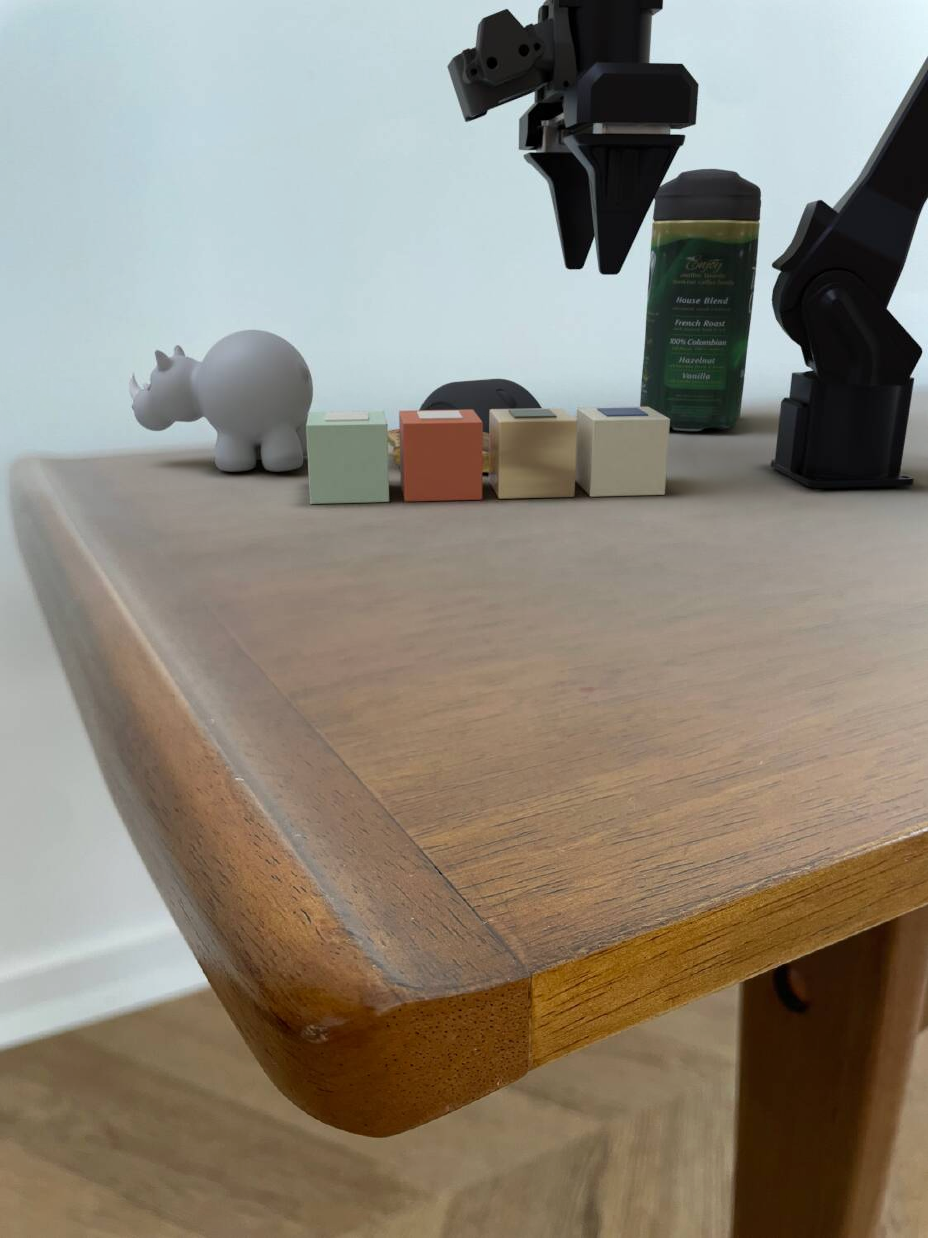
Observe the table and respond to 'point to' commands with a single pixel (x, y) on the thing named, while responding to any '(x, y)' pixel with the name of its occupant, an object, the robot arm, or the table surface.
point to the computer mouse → (480, 397)
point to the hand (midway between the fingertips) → (590, 271)
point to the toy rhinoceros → (235, 399)
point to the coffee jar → (700, 298)
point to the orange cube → (441, 455)
